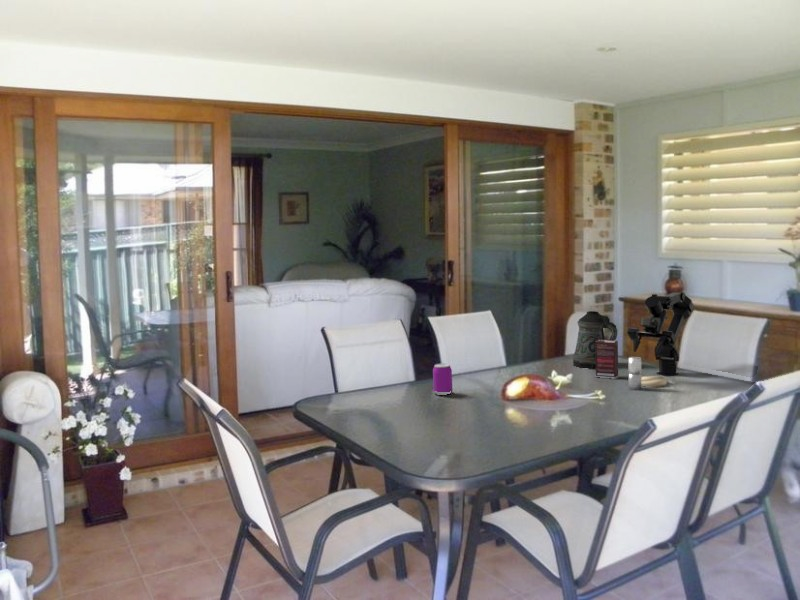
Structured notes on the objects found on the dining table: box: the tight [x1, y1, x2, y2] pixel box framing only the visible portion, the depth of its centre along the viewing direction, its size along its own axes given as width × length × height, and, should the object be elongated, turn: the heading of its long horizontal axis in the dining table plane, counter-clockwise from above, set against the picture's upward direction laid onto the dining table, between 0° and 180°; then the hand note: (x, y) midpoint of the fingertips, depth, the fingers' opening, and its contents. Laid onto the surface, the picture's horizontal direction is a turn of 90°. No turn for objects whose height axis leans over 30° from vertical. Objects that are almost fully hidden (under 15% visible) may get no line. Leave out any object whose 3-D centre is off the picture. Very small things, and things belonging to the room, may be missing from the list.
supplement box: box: [595, 339, 619, 380], centre depth 312 cm, size 9×5×16 cm, turn 58°
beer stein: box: [572, 310, 618, 370], centre depth 335 cm, size 16×19×25 cm
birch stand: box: [641, 375, 668, 388], centre depth 299 cm, size 12×12×2 cm
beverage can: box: [432, 363, 453, 392], centre depth 296 cm, size 8×8×12 cm
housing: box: [627, 356, 642, 391], centre depth 291 cm, size 5×5×12 cm
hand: (645, 352), depth 296 cm, fingers open, 9 cm apart
